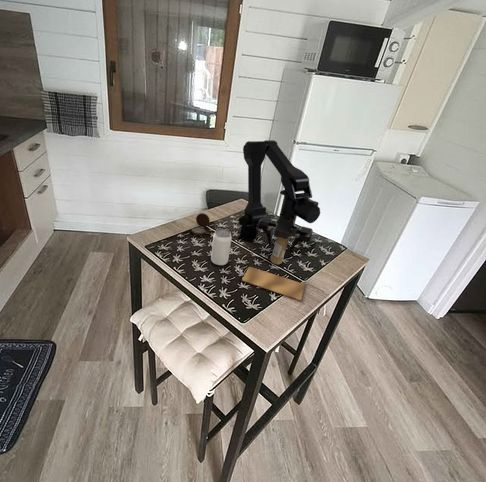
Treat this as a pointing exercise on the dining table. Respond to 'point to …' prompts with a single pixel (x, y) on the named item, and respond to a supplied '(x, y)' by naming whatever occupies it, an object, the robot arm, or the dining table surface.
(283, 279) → the front mat
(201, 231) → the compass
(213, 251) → the can
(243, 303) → the dining table surface
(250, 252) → the dining table surface
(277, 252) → the sprinkles bottle
